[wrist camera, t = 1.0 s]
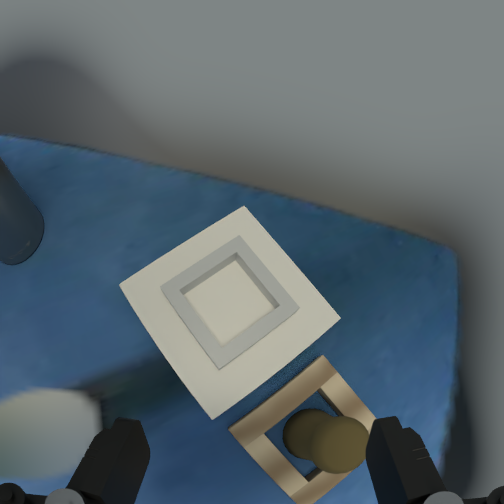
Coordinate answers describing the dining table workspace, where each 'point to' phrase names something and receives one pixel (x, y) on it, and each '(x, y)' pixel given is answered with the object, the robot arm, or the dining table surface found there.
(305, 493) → the tan square frame
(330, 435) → the cork
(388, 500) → the robot arm
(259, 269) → the dock
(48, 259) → the dining table surface
